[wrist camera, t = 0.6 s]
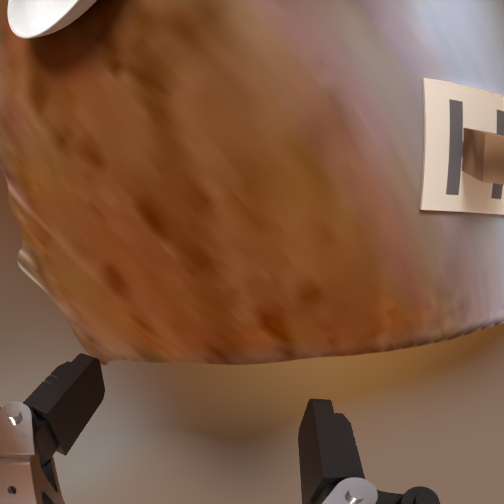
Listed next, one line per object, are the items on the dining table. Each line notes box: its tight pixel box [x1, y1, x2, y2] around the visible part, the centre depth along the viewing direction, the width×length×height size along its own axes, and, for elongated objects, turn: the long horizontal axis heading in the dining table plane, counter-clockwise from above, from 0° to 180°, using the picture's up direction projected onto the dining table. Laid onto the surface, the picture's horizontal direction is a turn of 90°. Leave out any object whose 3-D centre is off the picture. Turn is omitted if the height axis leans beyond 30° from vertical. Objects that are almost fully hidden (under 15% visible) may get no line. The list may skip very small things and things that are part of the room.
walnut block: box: [462, 128, 504, 185], centre depth 23 cm, size 5×5×5 cm
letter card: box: [420, 78, 504, 215], centre depth 25 cm, size 15×15×1 cm
